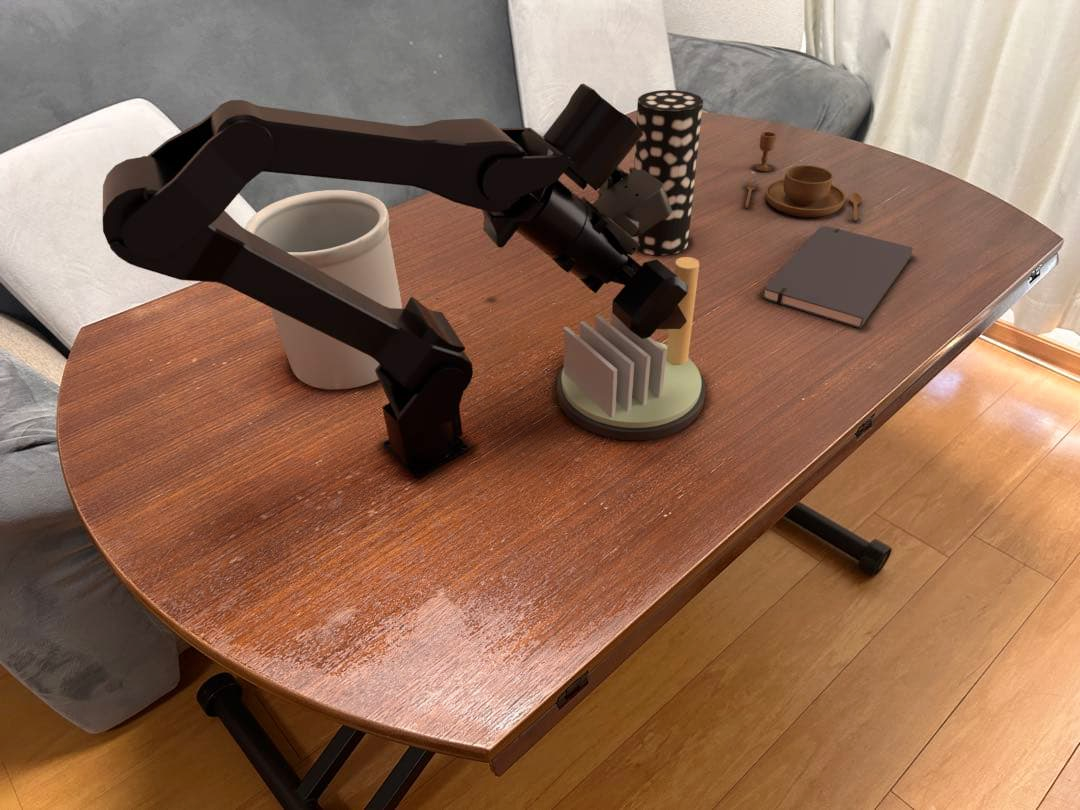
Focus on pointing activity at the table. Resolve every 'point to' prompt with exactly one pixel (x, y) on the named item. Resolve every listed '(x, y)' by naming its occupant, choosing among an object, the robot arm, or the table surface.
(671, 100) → the white-spotted black cylinder
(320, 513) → the table surface
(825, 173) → the place setting
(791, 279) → the notebook
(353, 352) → the utensil holder
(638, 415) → the dish rack
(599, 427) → the turntable base
